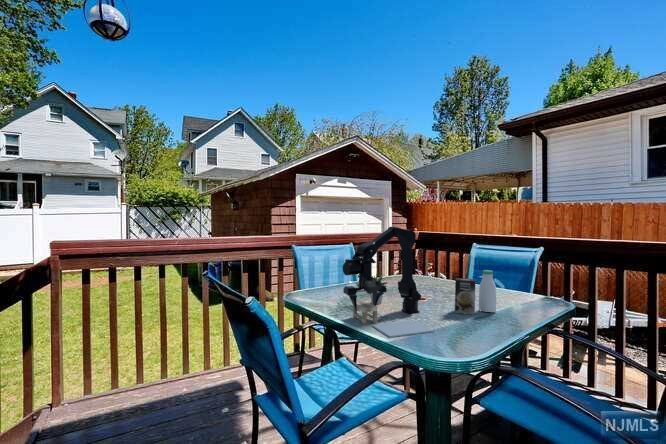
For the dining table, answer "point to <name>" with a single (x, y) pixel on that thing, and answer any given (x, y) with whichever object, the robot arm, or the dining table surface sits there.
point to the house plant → (382, 294)
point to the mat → (402, 328)
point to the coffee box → (465, 296)
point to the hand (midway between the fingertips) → (365, 308)
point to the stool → (365, 311)
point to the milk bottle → (487, 292)
